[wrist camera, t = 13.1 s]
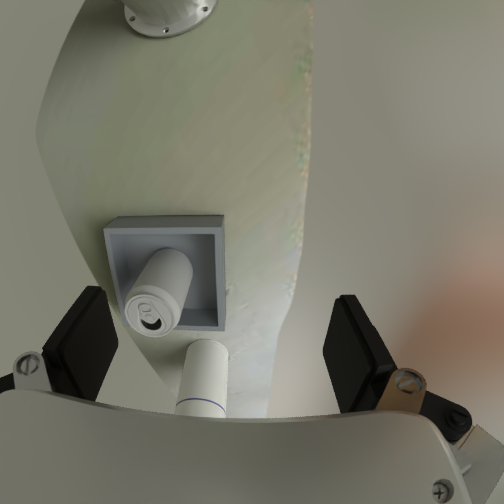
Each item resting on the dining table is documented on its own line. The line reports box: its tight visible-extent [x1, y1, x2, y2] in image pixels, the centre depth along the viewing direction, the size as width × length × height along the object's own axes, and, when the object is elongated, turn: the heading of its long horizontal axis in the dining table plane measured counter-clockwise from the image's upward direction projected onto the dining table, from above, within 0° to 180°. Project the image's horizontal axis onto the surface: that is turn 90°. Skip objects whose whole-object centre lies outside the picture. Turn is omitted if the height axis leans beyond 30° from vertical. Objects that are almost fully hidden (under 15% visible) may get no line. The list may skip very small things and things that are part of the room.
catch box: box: [103, 215, 226, 331], centre depth 38 cm, size 15×15×5 cm
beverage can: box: [125, 249, 193, 337], centre depth 34 cm, size 6×6×12 cm
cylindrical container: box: [175, 339, 228, 418], centre depth 36 cm, size 7×7×25 cm
